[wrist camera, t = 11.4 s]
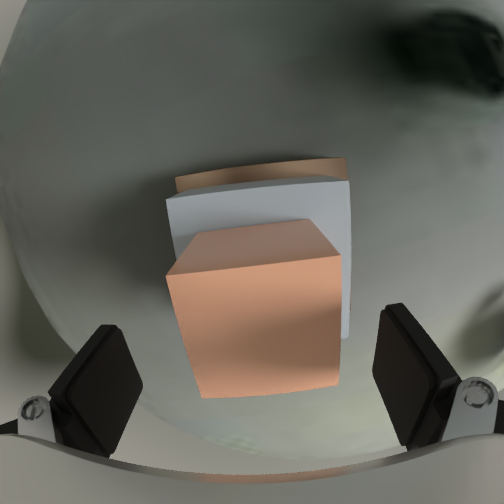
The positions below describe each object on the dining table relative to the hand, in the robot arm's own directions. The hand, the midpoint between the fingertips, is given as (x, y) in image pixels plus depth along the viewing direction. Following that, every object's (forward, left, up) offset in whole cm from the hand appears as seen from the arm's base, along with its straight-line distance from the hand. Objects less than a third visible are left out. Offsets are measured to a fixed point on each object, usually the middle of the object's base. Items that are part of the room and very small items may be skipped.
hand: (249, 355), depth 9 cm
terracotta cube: (0, 0, -6) cm, 6 cm away
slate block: (-1, 0, -10) cm, 10 cm away
